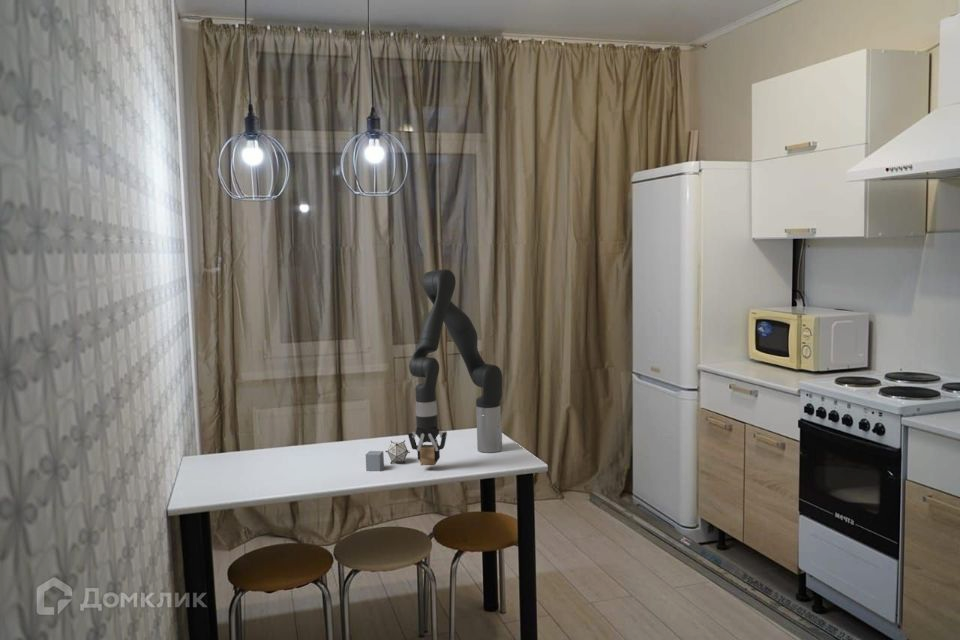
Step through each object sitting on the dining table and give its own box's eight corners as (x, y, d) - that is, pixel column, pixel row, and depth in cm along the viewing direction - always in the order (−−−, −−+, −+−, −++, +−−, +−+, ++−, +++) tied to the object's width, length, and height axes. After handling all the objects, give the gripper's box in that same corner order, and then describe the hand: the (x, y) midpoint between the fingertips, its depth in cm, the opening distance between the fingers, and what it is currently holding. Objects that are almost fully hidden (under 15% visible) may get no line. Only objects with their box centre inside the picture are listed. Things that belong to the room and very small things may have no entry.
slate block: (384, 467, 271) (383, 451, 270) (379, 471, 266) (379, 454, 265) (370, 467, 272) (369, 450, 271) (366, 471, 267) (365, 454, 266)
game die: (402, 471, 279) (416, 447, 281) (399, 469, 270) (414, 444, 273) (382, 458, 280) (396, 435, 282) (378, 456, 272) (393, 432, 274)
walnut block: (437, 461, 269) (436, 444, 268) (434, 465, 264) (433, 448, 263) (423, 461, 269) (422, 444, 269) (420, 465, 265) (419, 448, 264)
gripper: (448, 410, 267) (450, 457, 269) (409, 411, 270) (411, 457, 271) (444, 415, 260) (446, 463, 262) (404, 416, 262) (406, 463, 264)
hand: (428, 460), depth 267 cm, fingers closed on walnut block, 5 cm apart
